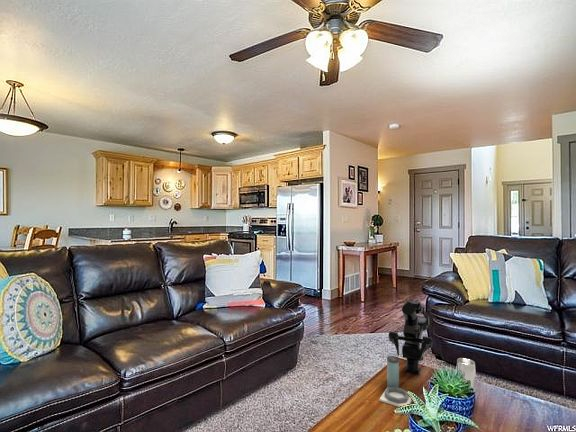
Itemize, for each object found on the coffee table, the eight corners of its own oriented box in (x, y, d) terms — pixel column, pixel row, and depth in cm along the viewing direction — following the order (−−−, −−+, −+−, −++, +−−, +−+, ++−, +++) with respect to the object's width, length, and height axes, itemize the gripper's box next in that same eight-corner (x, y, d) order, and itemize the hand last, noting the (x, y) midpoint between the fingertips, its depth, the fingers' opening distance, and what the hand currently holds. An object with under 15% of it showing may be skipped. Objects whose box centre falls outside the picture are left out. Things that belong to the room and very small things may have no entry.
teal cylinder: (388, 382, 148) (388, 354, 148) (400, 385, 145) (400, 357, 145) (385, 387, 144) (385, 359, 144) (397, 390, 141) (397, 361, 141)
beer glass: (462, 390, 141) (462, 356, 141) (478, 398, 135) (478, 362, 135) (453, 395, 137) (453, 360, 137) (469, 403, 131) (469, 366, 131)
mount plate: (387, 388, 143) (387, 383, 143) (413, 396, 137) (413, 390, 137) (379, 400, 133) (379, 395, 133) (407, 409, 127) (407, 403, 127)
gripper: (389, 314, 154) (385, 346, 144) (432, 320, 146) (431, 354, 136) (391, 325, 161) (388, 356, 151) (432, 331, 153) (431, 364, 144)
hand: (408, 357), depth 145 cm, fingers open, 9 cm apart
